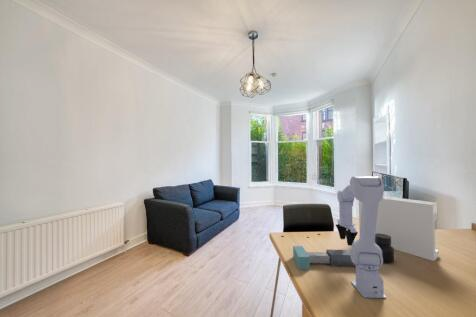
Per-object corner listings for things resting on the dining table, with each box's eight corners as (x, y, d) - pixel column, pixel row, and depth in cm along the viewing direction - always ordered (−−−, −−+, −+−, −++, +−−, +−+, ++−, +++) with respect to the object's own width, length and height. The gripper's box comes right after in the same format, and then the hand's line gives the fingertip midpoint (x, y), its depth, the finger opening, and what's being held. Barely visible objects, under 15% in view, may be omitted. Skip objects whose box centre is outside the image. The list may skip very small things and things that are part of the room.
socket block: (309, 269, 91) (309, 257, 92) (299, 269, 92) (298, 256, 92) (302, 257, 103) (302, 246, 104) (293, 257, 104) (293, 246, 104)
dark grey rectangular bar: (361, 267, 93) (361, 255, 93) (331, 266, 94) (330, 254, 94) (355, 261, 99) (354, 249, 99) (326, 260, 100) (326, 249, 100)
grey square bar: (339, 263, 95) (338, 255, 95) (300, 262, 96) (300, 255, 96) (335, 259, 98) (335, 252, 98) (299, 259, 99) (298, 251, 99)
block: (359, 238, 128) (358, 195, 128) (365, 235, 132) (364, 193, 133) (433, 261, 98) (432, 204, 99) (438, 256, 103) (437, 202, 103)
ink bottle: (381, 254, 106) (381, 231, 106) (399, 262, 98) (398, 237, 98) (367, 257, 103) (367, 234, 103) (385, 265, 95) (384, 240, 95)
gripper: (362, 219, 92) (362, 248, 92) (346, 211, 107) (347, 236, 106) (346, 219, 93) (347, 248, 92) (333, 211, 107) (333, 236, 107)
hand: (346, 242), depth 99 cm, fingers open, 7 cm apart
